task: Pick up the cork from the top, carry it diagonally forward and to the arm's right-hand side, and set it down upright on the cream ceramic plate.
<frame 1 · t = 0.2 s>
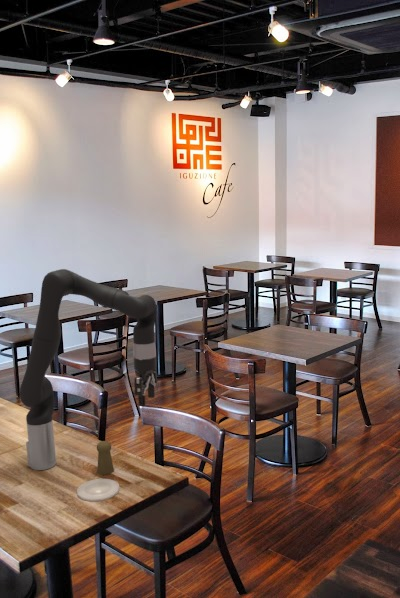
hand: (146, 401, 208), 28 cm above the table, tool pointing down, fingers open, 8 cm apart
cream plate: (98, 491, 206), on the table
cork: (105, 471, 221), on the table
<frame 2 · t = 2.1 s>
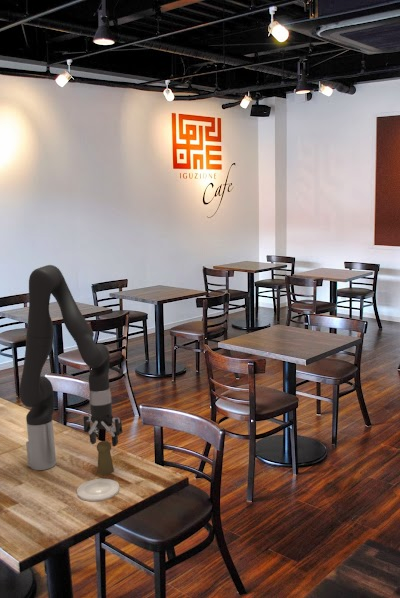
hand: (104, 444, 219), 10 cm above the table, tool pointing down, fingers open, 8 cm apart
nothing on the table moved.
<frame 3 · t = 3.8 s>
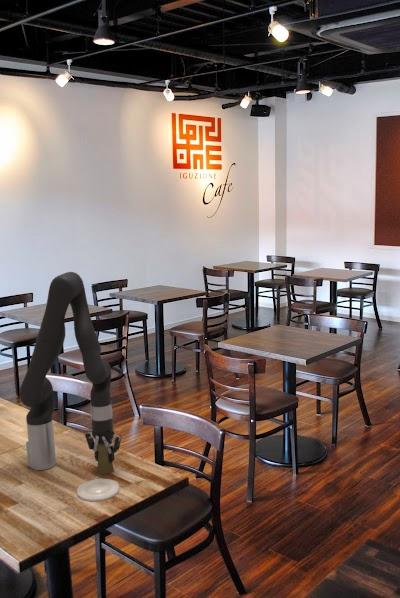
hand: (104, 461, 220), 4 cm above the table, tool pointing down, fingers closed on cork, 4 cm apart
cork: (105, 471, 221), on the table, touching gripper
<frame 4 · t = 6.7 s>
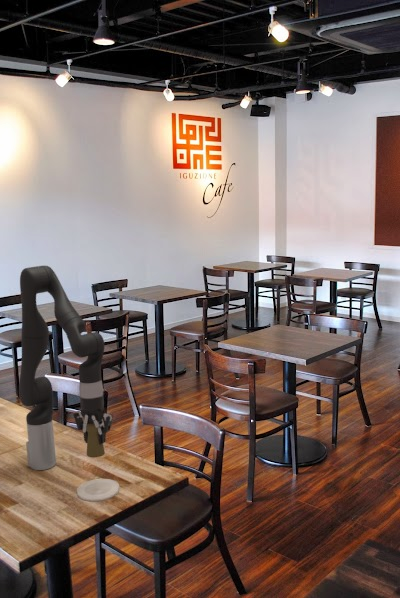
hand: (94, 442, 203), 17 cm above the table, tool pointing down, fingers closed on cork, 4 cm apart
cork: (95, 454, 204), point 13 cm above the table, touching gripper
when the fingers open (6 cm above the table, at t = 9.6 s): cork stays where it is, resting on cream plate.
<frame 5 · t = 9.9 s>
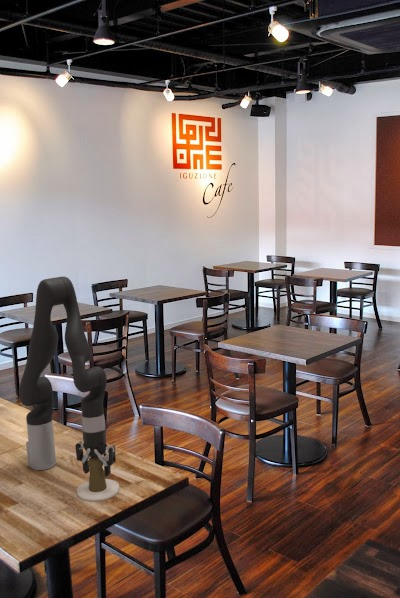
hand: (97, 473, 205), 6 cm above the table, tool pointing down, fingers open, 7 cm apart
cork: (97, 488, 206), point 1 cm above the table, touching cream plate
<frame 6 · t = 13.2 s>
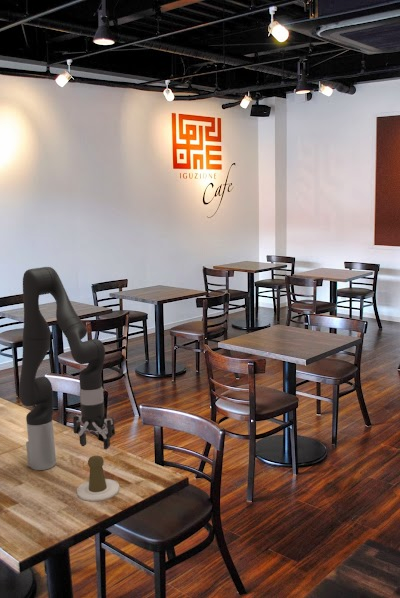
hand: (95, 446, 203), 16 cm above the table, tool pointing down, fingers open, 8 cm apart
nothing on the table moved.
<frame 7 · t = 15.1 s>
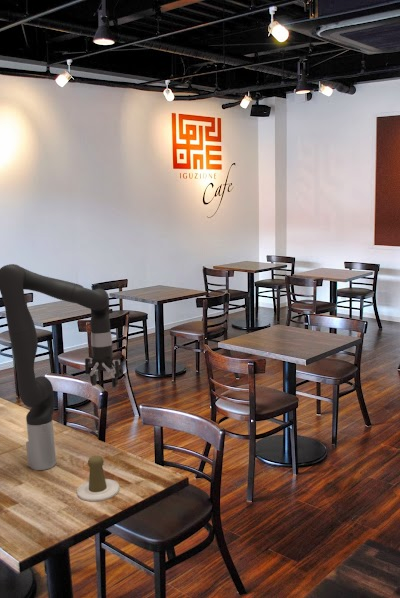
hand: (104, 386, 228), 28 cm above the table, tool pointing down, fingers open, 8 cm apart
nothing on the table moved.
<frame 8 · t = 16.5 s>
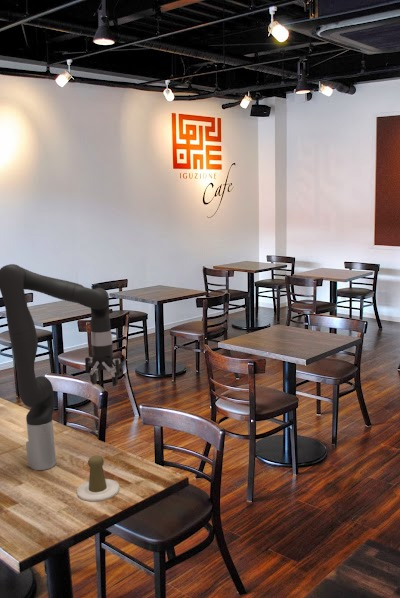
hand: (104, 384, 229), 28 cm above the table, tool pointing down, fingers open, 8 cm apart
nothing on the table moved.
at the end: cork inside the target area on the cream plate (0.2 cm from its centre), point 0.9 cm above the cream plate's base; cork tilted 0°; the gripper is holding nothing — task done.
